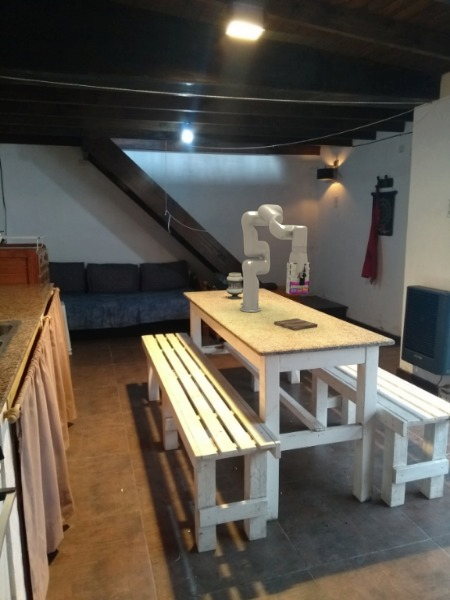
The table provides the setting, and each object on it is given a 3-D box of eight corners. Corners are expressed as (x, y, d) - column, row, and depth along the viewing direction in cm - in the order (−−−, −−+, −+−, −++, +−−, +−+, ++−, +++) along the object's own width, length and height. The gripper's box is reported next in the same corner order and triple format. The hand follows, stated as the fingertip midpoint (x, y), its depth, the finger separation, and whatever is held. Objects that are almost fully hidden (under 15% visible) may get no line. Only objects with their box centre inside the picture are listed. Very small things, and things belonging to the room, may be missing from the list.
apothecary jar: (224, 297, 317) (224, 272, 314) (240, 296, 321) (240, 272, 317) (229, 300, 306) (229, 274, 303) (245, 299, 309) (246, 274, 306)
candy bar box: (304, 292, 235) (306, 261, 232) (308, 294, 230) (310, 262, 227) (285, 293, 232) (286, 261, 229) (289, 294, 227) (290, 262, 224)
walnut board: (274, 324, 236) (274, 321, 236) (296, 320, 245) (296, 318, 245) (294, 330, 223) (294, 327, 223) (317, 326, 232) (317, 324, 232)
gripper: (282, 249, 232) (281, 283, 235) (305, 251, 218) (303, 287, 221) (293, 248, 236) (291, 282, 239) (316, 250, 222) (314, 286, 225)
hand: (297, 284), depth 230 cm, fingers closed on candy bar box, 6 cm apart
